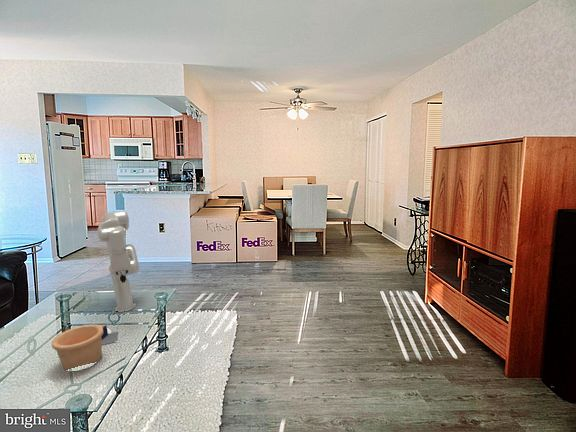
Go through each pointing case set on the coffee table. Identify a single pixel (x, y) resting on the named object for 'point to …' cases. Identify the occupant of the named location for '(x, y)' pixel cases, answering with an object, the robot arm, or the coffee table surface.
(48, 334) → the coffee table surface
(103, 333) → the supplement box
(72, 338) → the pottery
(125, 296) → the robot arm
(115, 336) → the mat
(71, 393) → the coffee table surface
